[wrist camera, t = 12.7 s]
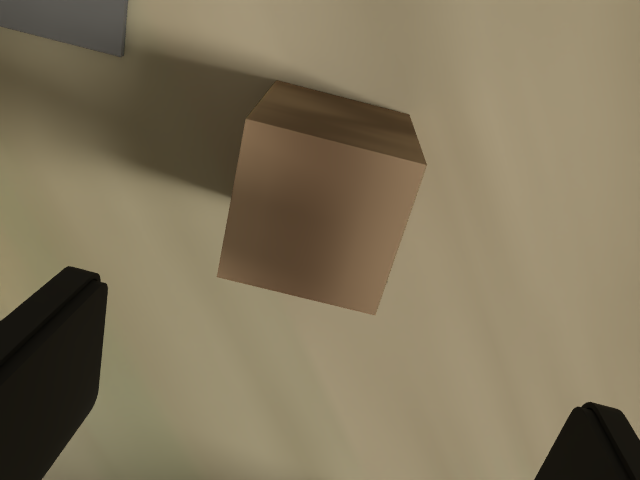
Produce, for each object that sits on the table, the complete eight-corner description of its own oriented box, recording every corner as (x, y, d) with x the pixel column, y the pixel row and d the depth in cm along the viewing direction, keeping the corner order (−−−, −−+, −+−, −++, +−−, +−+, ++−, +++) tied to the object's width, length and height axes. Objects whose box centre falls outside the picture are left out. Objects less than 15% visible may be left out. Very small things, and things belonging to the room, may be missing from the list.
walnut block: (409, 114, 20) (427, 164, 15) (371, 233, 22) (375, 315, 17) (276, 79, 20) (245, 118, 15) (252, 203, 22) (216, 276, 17)
